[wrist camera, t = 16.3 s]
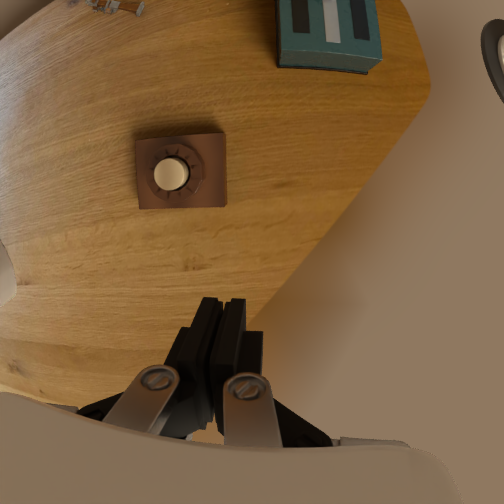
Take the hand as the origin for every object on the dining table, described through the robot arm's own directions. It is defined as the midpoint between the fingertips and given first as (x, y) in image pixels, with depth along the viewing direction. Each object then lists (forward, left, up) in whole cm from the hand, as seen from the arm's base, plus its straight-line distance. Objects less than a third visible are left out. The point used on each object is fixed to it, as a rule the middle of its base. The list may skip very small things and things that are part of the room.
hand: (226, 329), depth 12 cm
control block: (+8, -5, -24) cm, 25 cm away
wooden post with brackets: (+17, -28, -24) cm, 40 cm away
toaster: (-8, -24, -24) cm, 35 cm away
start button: (+8, -5, -20) cm, 22 cm away
